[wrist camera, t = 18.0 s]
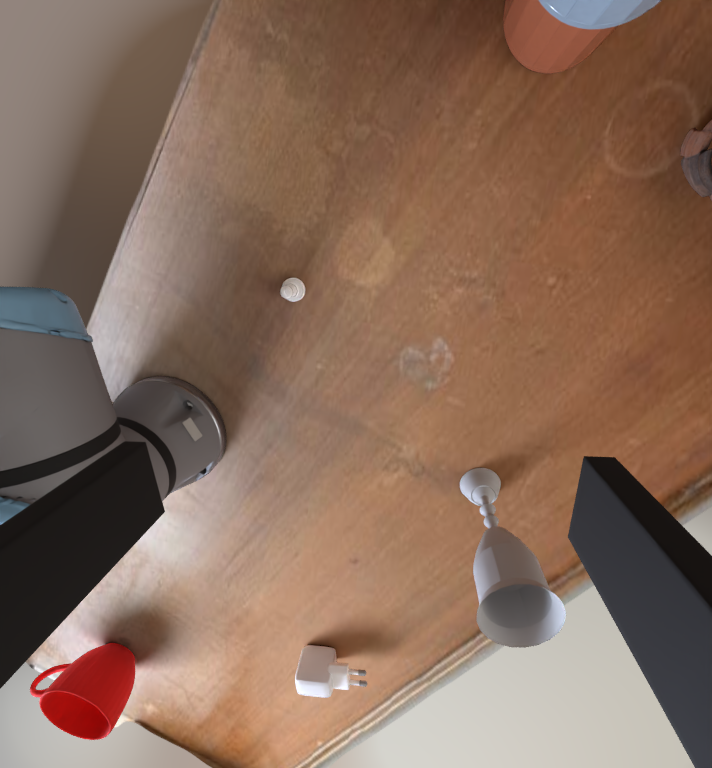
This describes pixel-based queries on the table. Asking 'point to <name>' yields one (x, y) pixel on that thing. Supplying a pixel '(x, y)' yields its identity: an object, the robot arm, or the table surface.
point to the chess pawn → (293, 289)
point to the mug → (547, 38)
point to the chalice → (508, 576)
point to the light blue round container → (597, 11)
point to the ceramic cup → (89, 691)
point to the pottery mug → (698, 160)
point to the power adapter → (323, 672)
